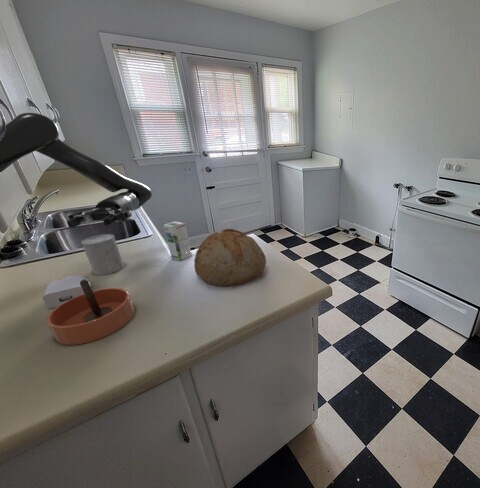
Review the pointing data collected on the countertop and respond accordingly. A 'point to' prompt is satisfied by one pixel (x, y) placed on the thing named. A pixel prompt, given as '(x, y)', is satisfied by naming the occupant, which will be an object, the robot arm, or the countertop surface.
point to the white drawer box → (63, 290)
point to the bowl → (77, 332)
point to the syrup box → (177, 240)
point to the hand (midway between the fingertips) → (87, 223)
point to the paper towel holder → (92, 303)
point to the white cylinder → (103, 254)
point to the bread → (229, 259)
